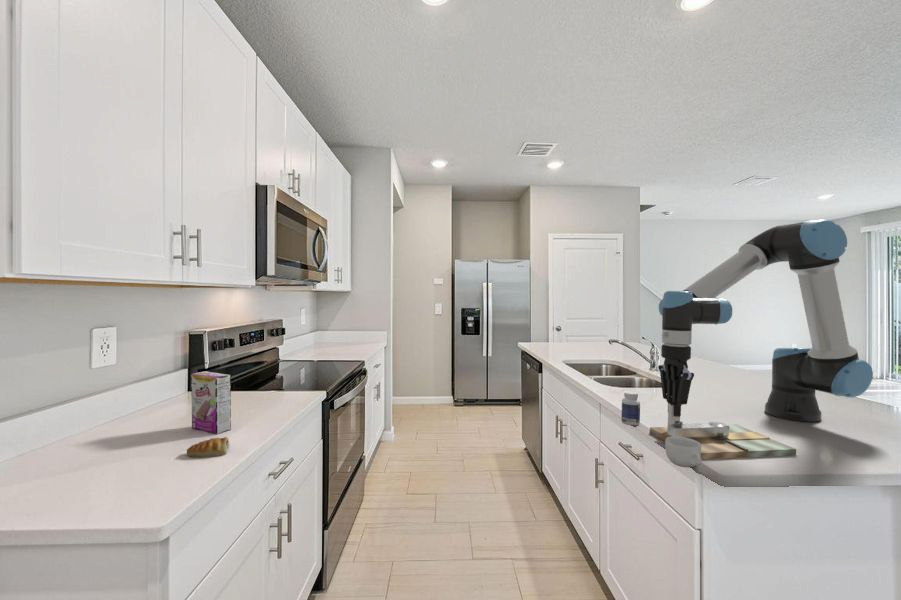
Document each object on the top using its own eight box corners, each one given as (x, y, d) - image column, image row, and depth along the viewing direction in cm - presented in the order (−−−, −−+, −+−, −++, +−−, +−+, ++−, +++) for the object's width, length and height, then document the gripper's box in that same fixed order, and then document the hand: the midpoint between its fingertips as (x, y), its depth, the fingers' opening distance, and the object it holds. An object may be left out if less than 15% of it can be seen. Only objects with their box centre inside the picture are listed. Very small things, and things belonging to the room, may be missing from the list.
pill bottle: (641, 426, 135) (642, 395, 134) (623, 425, 136) (623, 394, 135) (637, 421, 140) (638, 391, 140) (619, 420, 141) (620, 390, 141)
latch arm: (720, 430, 124) (720, 417, 123) (733, 436, 119) (734, 423, 118) (665, 432, 122) (666, 419, 121) (677, 438, 117) (677, 425, 116)
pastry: (184, 461, 106) (184, 445, 105) (189, 451, 112) (189, 436, 112) (227, 456, 109) (227, 441, 109) (230, 447, 115) (230, 432, 115)
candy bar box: (190, 429, 128) (189, 373, 127) (206, 424, 133) (205, 370, 132) (216, 435, 123) (216, 377, 123) (232, 429, 128) (231, 374, 127)
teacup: (658, 458, 110) (658, 436, 110) (686, 456, 111) (687, 435, 111) (684, 475, 100) (684, 452, 100) (714, 473, 101) (715, 450, 101)
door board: (736, 429, 133) (736, 422, 132) (796, 455, 113) (796, 446, 113) (649, 432, 129) (650, 424, 129) (696, 459, 109) (696, 450, 109)
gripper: (650, 341, 131) (648, 419, 132) (678, 348, 118) (676, 434, 119) (673, 341, 132) (671, 419, 133) (704, 347, 119) (701, 433, 120)
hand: (673, 426), depth 126 cm, fingers closed
